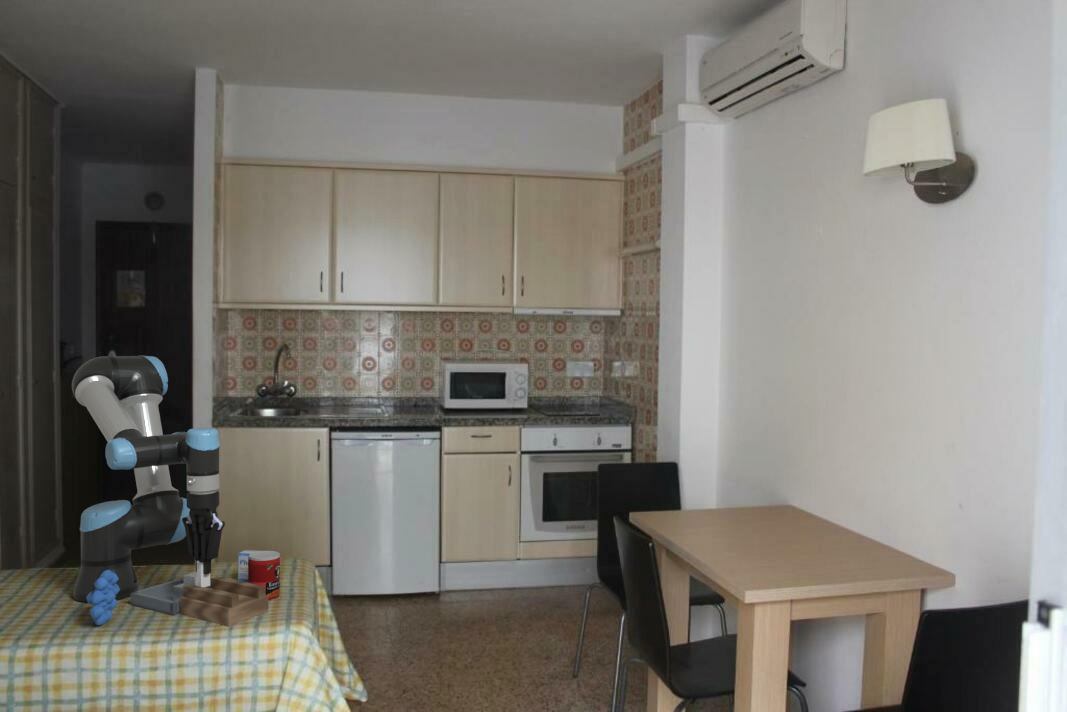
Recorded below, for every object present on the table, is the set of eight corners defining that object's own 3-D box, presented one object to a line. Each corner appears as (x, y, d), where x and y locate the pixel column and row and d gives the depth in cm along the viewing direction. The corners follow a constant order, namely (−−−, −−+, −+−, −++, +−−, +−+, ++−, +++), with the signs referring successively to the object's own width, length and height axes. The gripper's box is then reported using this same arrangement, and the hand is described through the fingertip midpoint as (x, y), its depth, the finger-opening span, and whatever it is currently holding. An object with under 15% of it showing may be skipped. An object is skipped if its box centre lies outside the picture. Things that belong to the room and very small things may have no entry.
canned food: (271, 602, 214) (270, 559, 213) (242, 600, 215) (242, 557, 215) (285, 593, 221) (285, 551, 221) (257, 591, 223) (257, 549, 222)
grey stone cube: (184, 604, 209) (173, 602, 211) (197, 600, 213) (187, 597, 215) (183, 588, 209) (173, 586, 211) (197, 584, 213) (186, 582, 215)
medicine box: (237, 584, 228) (237, 553, 228) (246, 580, 233) (246, 548, 232) (264, 587, 227) (263, 554, 226) (272, 582, 231) (272, 550, 231)
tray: (130, 604, 211) (130, 592, 211) (182, 589, 224) (182, 577, 224) (173, 615, 203) (173, 603, 203) (223, 598, 216) (223, 587, 216)
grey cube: (183, 590, 209) (183, 574, 209) (197, 586, 213) (197, 571, 213) (194, 593, 207) (194, 577, 207) (208, 589, 211) (208, 573, 211)
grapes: (97, 614, 204) (96, 564, 204) (126, 613, 204) (125, 564, 204) (74, 631, 192) (73, 578, 192) (105, 630, 193) (104, 578, 192)
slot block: (179, 614, 204) (179, 587, 204) (220, 600, 215) (220, 575, 214) (228, 626, 196) (228, 598, 196) (268, 611, 206) (268, 585, 206)
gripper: (172, 491, 208) (173, 586, 209) (208, 496, 202) (209, 594, 202) (198, 486, 215) (198, 578, 215) (233, 491, 208) (234, 586, 209)
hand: (203, 586), depth 209 cm, fingers closed
